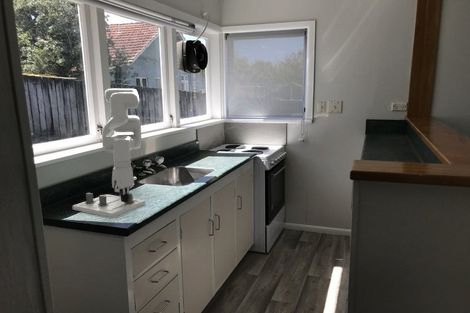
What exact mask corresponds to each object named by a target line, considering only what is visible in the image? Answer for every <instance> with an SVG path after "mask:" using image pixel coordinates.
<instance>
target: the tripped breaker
mask: <svg viewBox="0 0 470 313" xmlns="http://www.w3.org/2000/svg"><path fill="white" fill-rule="evenodd" d="M133 196H134V195H133V193H131V192H129V193H128V202H124V203H128V204H131V203H134V202H135V201H133V199H134V198H133Z"/></svg>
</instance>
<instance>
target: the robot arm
mask: <svg viewBox="0 0 470 313" xmlns="http://www.w3.org/2000/svg"><path fill="white" fill-rule="evenodd" d="M104 97H105V101H106V102H107V104H108V106H109V109H110V110H109V111H110V119H109V120H108V121H107V122H106V123H105V125H104V127H103V128H102V133H101V134H102V135H101V136H102V137H101V138H102V140H101V141H102V142H101V143H102V149H103V151H105V152H106V153H112V156H113V158H112V159H113V168H112V175H111V184H112V186H111V188H113V189H114V192H115V193H118V192H119V193H120V194H121V202H128V193H130V189H132V188H133V187H134V186H135V181H136V180H137V177H136V176H134V171H133V167H132V164H131V163H132V160H131V151H132V150H138V149H140V148H142V126H141V119H140V117H139V116H138V115H129V112H128V111H129V110H128V109H138V107H139V106H140V97H139V93H138V91H137V89H135V88H107V89H106V90H105V91H104ZM111 131H114V132H116V133H115V134H113V135H112V136H109V133H111ZM119 193H118V194H119Z"/></svg>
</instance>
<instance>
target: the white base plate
mask: <svg viewBox="0 0 470 313" xmlns="http://www.w3.org/2000/svg"><path fill="white" fill-rule="evenodd" d="M104 195H105V196H106V202H107V203H109V204H108V205H105V206H101V205H98V204H99V196H98V197H96V198H94V197H93V201H95V202H94V203H91V204H90V203H85V201H82V202H80V203H77V204H74V205H72V210H74V211H78V212H82V213H88V214H92V215H97V216H98V215H99V216H102V217H108V218H115V217H117V216H120V215H123V214H126V213H128V212H130V211H132V210H134V209H137V208H139V207H143V206H145V205H146V200H143V199H138V198H133V201H135V202H134V203H131V204H128V203H124V202H121V196H120V195H113V194H104Z"/></svg>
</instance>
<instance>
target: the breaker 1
mask: <svg viewBox="0 0 470 313" xmlns="http://www.w3.org/2000/svg"><path fill="white" fill-rule="evenodd" d="M85 198H86V199H85V200H86V201H84V202H85V203H90V204H91V203H94V202H95V201H93V199H94V193H93V192H92V193H91V192H87V193H86V192H85Z"/></svg>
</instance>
